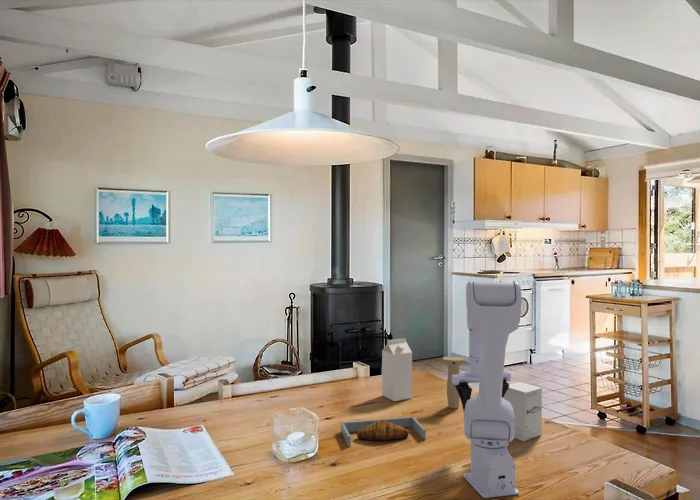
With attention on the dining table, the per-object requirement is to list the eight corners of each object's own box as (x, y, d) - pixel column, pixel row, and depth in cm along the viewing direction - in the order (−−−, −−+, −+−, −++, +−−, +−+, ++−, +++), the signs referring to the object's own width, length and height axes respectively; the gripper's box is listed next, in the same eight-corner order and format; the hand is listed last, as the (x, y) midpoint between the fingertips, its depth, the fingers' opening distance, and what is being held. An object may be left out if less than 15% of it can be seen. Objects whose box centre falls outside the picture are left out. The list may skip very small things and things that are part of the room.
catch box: (425, 439, 123) (425, 429, 123) (348, 446, 119) (348, 436, 119) (413, 425, 132) (413, 416, 132) (341, 431, 128) (341, 422, 128)
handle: (464, 410, 144) (464, 360, 144) (443, 409, 145) (442, 360, 145) (463, 405, 149) (463, 357, 148) (442, 404, 150) (442, 356, 149)
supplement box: (524, 442, 121) (524, 392, 121) (500, 432, 127) (500, 385, 127) (542, 435, 125) (542, 387, 125) (518, 426, 131) (518, 380, 131)
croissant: (406, 432, 128) (406, 413, 128) (411, 442, 121) (411, 423, 121) (355, 434, 127) (355, 415, 127) (358, 444, 120) (357, 425, 120)
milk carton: (382, 395, 158) (381, 338, 158) (399, 392, 161) (399, 336, 161) (393, 402, 152) (393, 342, 152) (412, 398, 155) (412, 340, 155)
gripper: (500, 350, 121) (500, 404, 121) (446, 353, 118) (446, 408, 118) (515, 357, 114) (515, 414, 114) (458, 360, 111) (458, 418, 112)
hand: (481, 412), depth 116 cm, fingers open, 7 cm apart
